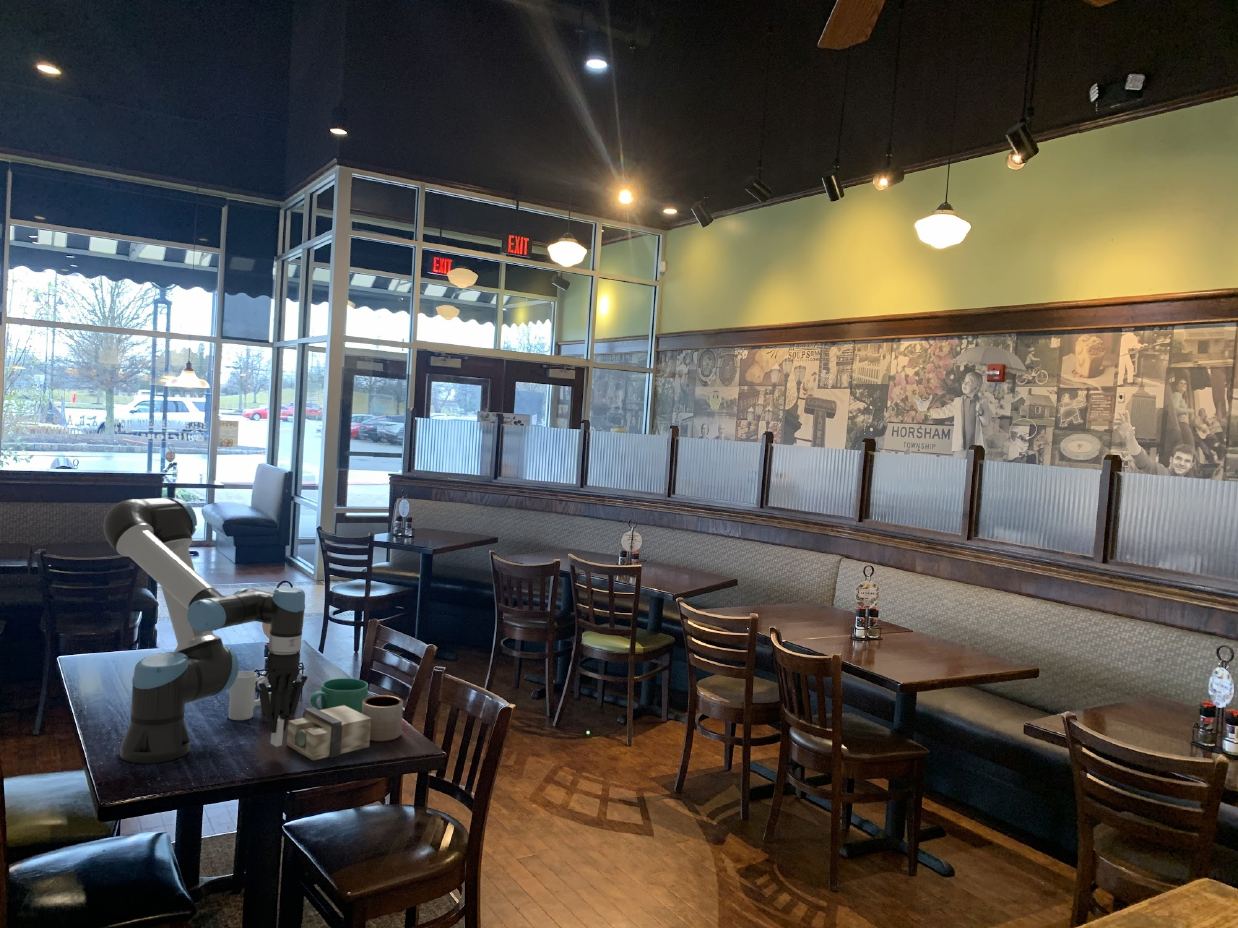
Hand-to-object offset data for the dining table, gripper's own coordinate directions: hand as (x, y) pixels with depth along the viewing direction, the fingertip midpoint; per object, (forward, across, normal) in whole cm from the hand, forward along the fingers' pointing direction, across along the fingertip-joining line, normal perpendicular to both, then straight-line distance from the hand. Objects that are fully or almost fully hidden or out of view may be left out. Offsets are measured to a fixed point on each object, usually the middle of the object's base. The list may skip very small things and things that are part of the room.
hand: (276, 744), depth 216 cm
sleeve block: (+3, +14, -1) cm, 14 cm away
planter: (+3, +29, -3) cm, 29 cm away
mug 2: (+4, +28, +16) cm, 32 cm away
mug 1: (+4, +9, +32) cm, 33 cm away
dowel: (+1, +13, -1) cm, 13 cm away
